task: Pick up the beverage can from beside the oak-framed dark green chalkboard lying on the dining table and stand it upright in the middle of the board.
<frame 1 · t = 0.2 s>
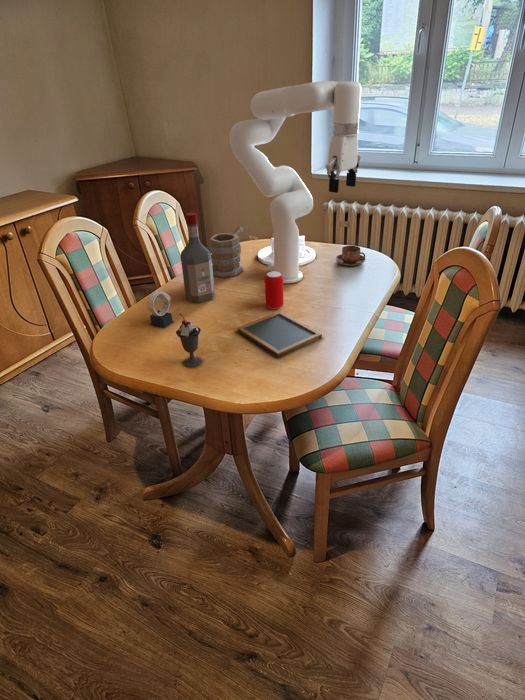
hand: (342, 189, 145), 36 cm above the table, tool pointing down, fingers open, 9 cm apart
liquor: (200, 297, 166), on the table
sundae: (192, 362, 129), on the table
watch: (162, 323, 150), on the table
tankard: (231, 268, 189), on the table
cup and saucer: (350, 263, 190), on the table
beverage can: (274, 307, 158), on the table
dish: (286, 256, 199), on the table
chalkboard: (278, 335, 141), on the table
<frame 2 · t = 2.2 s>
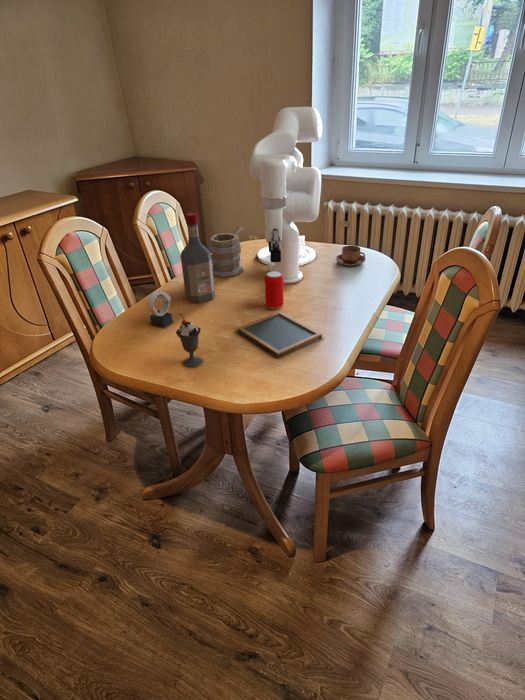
hand: (274, 256, 148), 18 cm above the table, tool pointing down, fingers open, 9 cm apart
nothing on the table moved.
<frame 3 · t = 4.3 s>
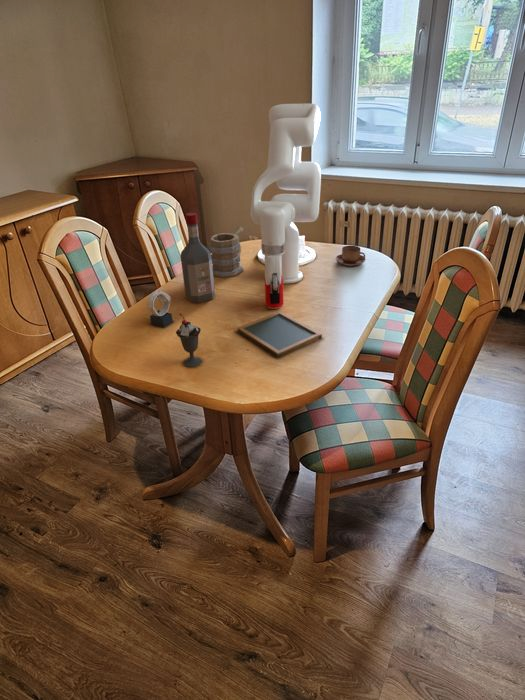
hand: (274, 298, 156), 3 cm above the table, tool pointing down, fingers closed on beverage can, 5 cm apart
beverage can: (274, 307, 158), on the table, touching gripper
everything else where it was.
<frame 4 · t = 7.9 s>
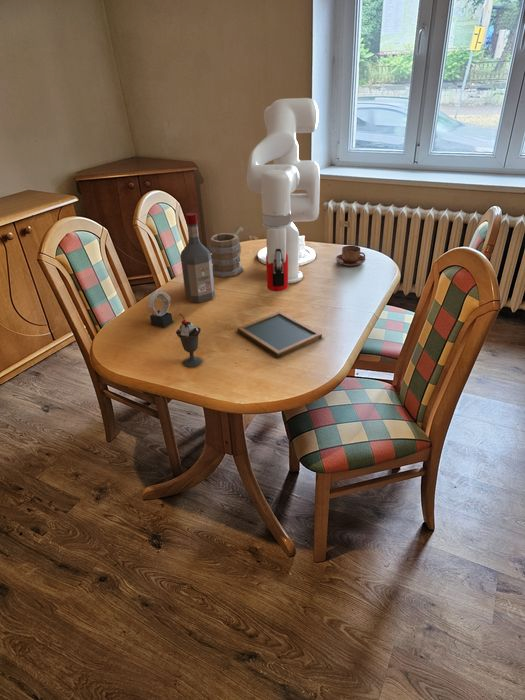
hand: (277, 280, 133), 17 cm above the table, tool pointing down, fingers closed on beverage can, 5 cm apart
beverage can: (277, 290, 135), point 14 cm above the table, touching gripper
everything else where it was.
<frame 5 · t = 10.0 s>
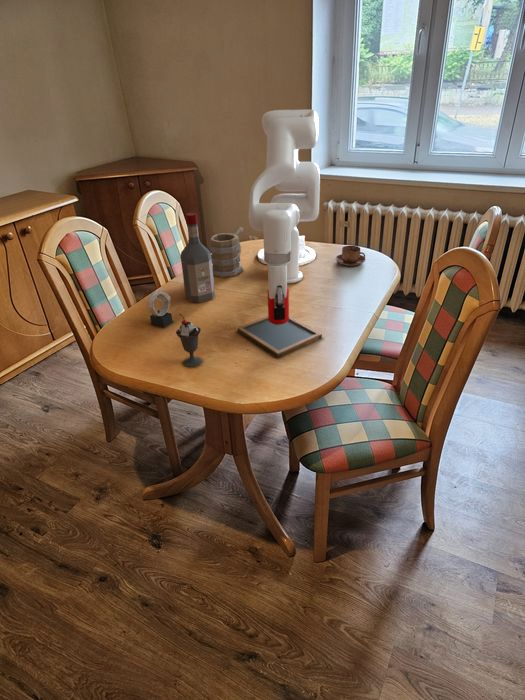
hand: (278, 313, 137), 7 cm above the table, tool pointing down, fingers closed on beverage can, 5 cm apart
beverage can: (278, 322, 139), point 4 cm above the table, touching gripper
everything else where it was.
when the fingers open (4 cm above the table, at t = 11.4 s): beverage can stays where it is, resting on chalkboard.
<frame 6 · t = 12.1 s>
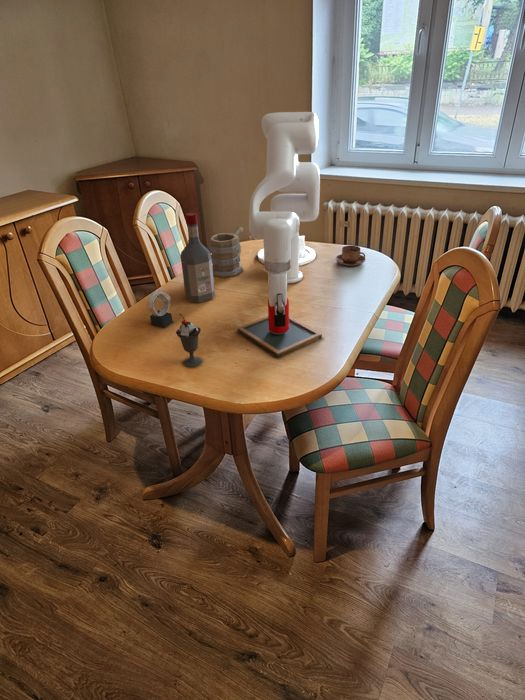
hand: (278, 318, 138), 6 cm above the table, tool pointing down, fingers open, 9 cm apart
beverage can: (278, 331, 140), point 1 cm above the table, touching chalkboard
everything else where it was.
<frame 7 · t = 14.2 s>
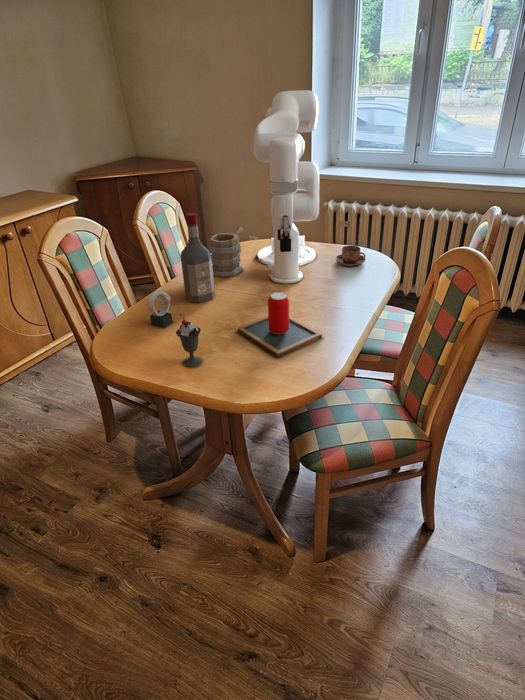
hand: (284, 245, 137), 25 cm above the table, tool pointing down, fingers open, 9 cm apart
nothing on the table moved.
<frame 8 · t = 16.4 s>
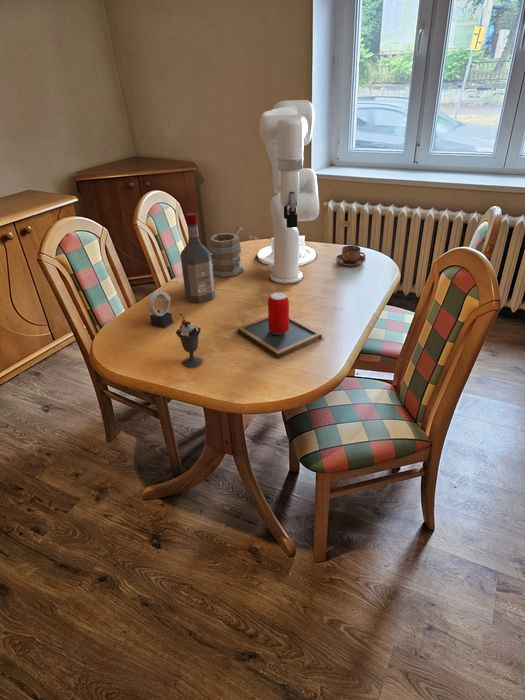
hand: (290, 222, 144), 28 cm above the table, tool pointing down, fingers open, 9 cm apart
nothing on the table moved.
at the end: beverage can inside the target area on the chalkboard (0.3 cm from its centre), point 1.0 cm above the chalkboard's base; beverage can tilted 0°; beverage can touching chalkboard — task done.
